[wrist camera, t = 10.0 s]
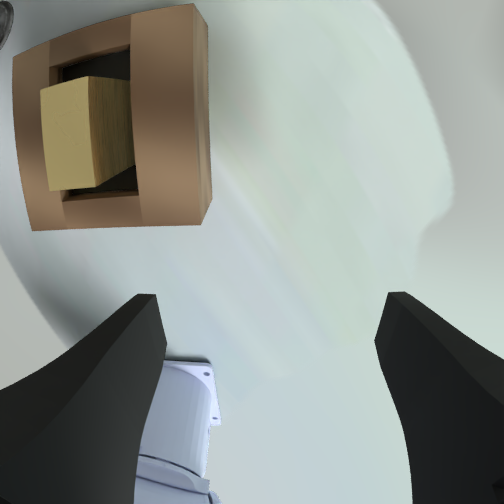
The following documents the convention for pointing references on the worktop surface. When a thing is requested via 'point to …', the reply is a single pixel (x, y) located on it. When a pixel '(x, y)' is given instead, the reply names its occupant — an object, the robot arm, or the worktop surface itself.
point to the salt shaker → (5, 21)
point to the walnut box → (143, 121)
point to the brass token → (86, 131)
